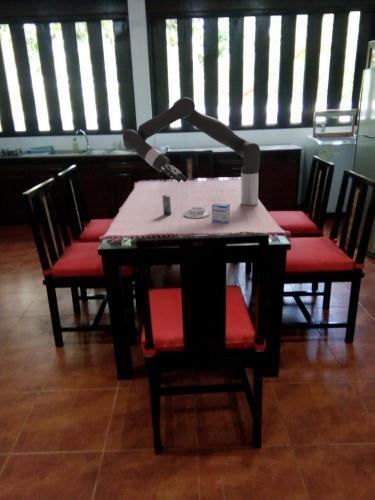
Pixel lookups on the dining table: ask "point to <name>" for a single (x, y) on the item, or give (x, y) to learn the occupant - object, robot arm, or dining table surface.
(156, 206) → the dining table surface
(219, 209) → the medicine box
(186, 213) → the rosette plate
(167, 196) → the steel pin
